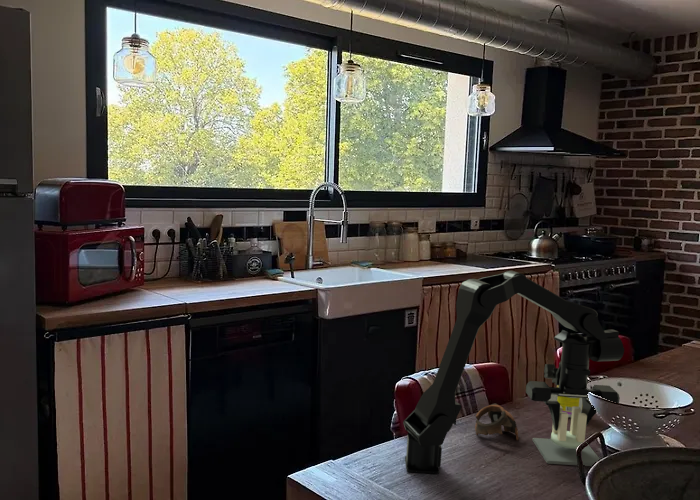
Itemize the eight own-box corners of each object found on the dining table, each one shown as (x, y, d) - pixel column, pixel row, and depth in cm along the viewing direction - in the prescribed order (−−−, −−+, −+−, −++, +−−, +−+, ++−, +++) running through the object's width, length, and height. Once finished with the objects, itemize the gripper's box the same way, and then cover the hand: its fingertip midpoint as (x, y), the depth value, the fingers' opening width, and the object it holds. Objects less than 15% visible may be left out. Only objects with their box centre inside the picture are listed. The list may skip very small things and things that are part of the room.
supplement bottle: (564, 407, 170) (568, 360, 169) (586, 415, 165) (591, 367, 163) (549, 411, 166) (553, 364, 165) (571, 420, 161) (576, 371, 159)
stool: (556, 447, 137) (559, 415, 136) (546, 434, 144) (549, 403, 143) (588, 449, 137) (592, 417, 136) (578, 436, 144) (581, 405, 143)
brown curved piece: (525, 447, 144) (512, 419, 141) (485, 460, 146) (472, 433, 143) (515, 415, 155) (503, 389, 153) (478, 428, 157) (466, 402, 154)
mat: (547, 463, 135) (547, 460, 135) (532, 440, 147) (532, 437, 147) (604, 466, 135) (604, 464, 135) (584, 443, 147) (585, 440, 147)
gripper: (604, 354, 146) (597, 419, 148) (522, 349, 147) (517, 414, 148) (623, 368, 135) (616, 439, 137) (535, 363, 136) (529, 433, 137)
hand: (568, 430), depth 140 cm, fingers closed on stool, 5 cm apart
